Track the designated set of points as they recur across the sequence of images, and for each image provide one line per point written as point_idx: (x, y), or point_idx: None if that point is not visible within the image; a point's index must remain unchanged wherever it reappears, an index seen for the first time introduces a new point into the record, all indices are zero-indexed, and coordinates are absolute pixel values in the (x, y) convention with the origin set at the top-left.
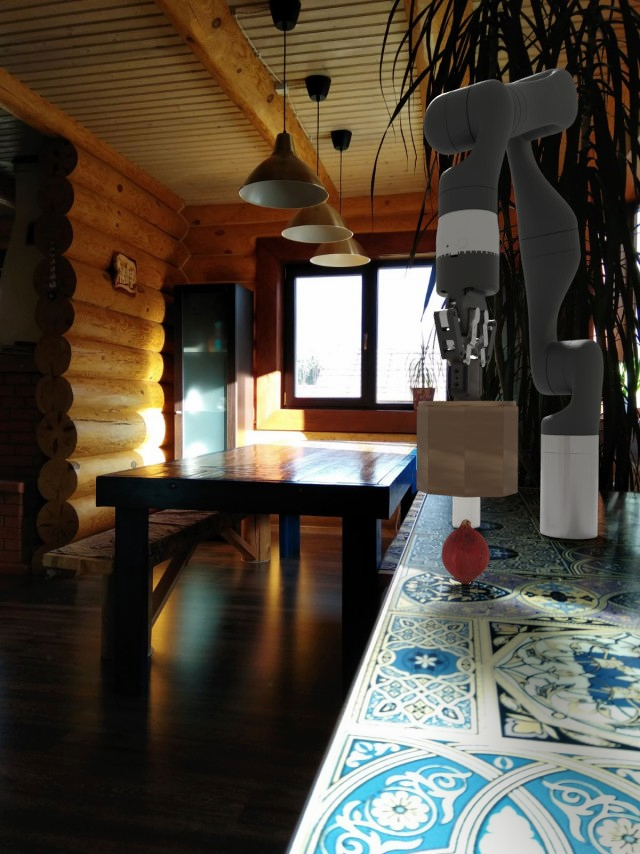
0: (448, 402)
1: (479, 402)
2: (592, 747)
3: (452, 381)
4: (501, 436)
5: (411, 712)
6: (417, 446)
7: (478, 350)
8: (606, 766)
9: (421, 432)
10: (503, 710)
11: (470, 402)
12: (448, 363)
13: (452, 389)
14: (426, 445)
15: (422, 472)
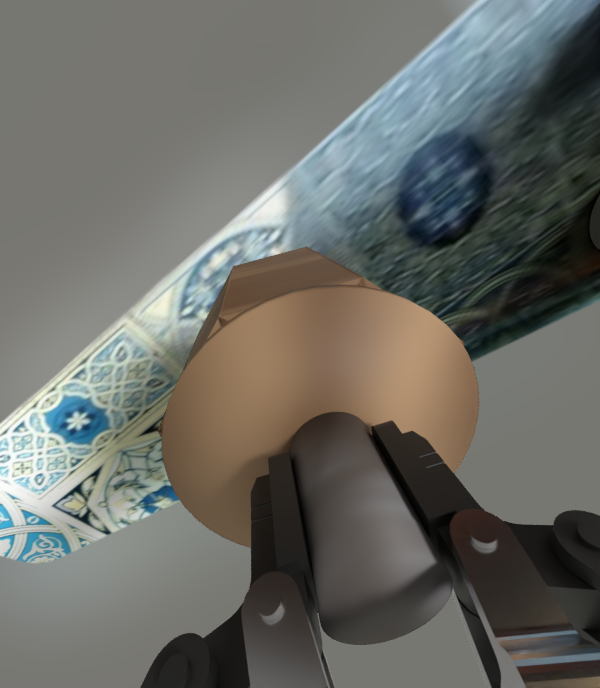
0: (181, 495)
1: (240, 541)
2: (90, 527)
3: (251, 518)
4: None
5: (14, 469)
6: (225, 289)
7: (490, 685)
8: (81, 538)
9: (204, 333)
10: (75, 489)
11: (221, 531)
12: (250, 591)
13: (253, 489)
14: (189, 358)
15: (211, 311)
